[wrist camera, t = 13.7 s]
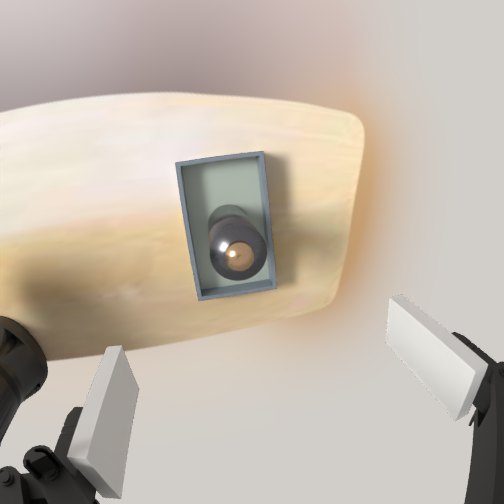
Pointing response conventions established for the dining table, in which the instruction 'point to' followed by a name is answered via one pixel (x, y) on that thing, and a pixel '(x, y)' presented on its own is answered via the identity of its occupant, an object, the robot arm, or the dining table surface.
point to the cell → (235, 244)
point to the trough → (213, 196)
